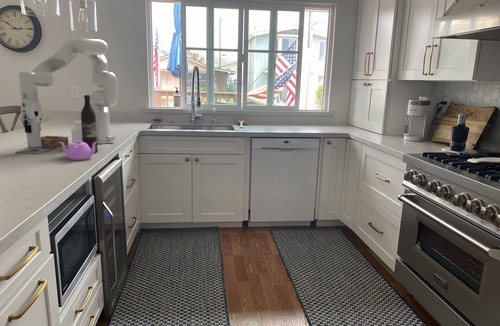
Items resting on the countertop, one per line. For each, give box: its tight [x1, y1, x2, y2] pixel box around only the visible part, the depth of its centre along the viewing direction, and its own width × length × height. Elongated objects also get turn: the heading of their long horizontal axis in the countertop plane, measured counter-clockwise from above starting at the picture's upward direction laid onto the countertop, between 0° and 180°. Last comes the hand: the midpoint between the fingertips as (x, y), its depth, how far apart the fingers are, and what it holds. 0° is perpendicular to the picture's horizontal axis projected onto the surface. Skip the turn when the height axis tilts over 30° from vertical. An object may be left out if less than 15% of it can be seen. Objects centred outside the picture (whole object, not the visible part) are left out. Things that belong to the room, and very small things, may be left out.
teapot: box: [59, 140, 98, 161], centre depth 177 cm, size 12×14×9 cm
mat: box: [15, 148, 54, 155], centre depth 190 cm, size 12×12×1 cm
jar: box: [70, 120, 83, 144], centre depth 203 cm, size 12×10×15 cm
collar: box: [41, 135, 69, 150], centre depth 204 cm, size 13×13×5 cm
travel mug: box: [25, 111, 42, 149], centre depth 188 cm, size 6×7×20 cm
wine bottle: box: [80, 94, 98, 154], centre depth 189 cm, size 7×7×30 cm
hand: (33, 131), depth 188 cm, fingers closed on travel mug, 6 cm apart
